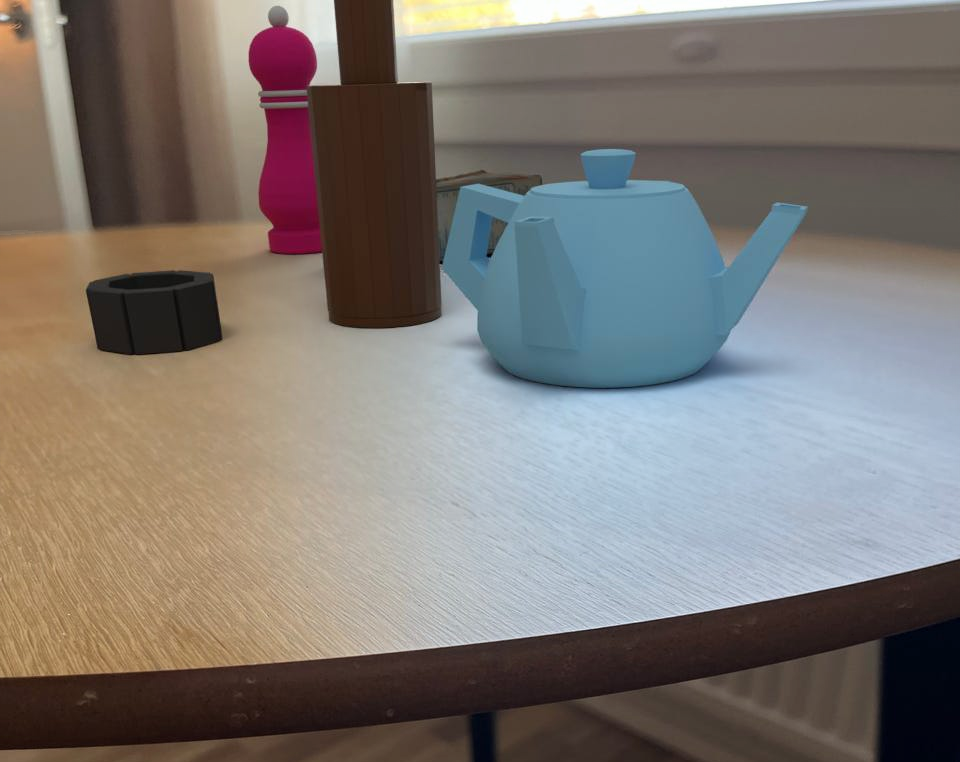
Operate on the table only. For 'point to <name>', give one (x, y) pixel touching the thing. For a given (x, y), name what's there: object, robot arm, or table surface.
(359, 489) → the table surface
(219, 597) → the table surface
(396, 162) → the bottle
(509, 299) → the teapot
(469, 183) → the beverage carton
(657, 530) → the table surface
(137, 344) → the black octagonal ring
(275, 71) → the pepper mill
